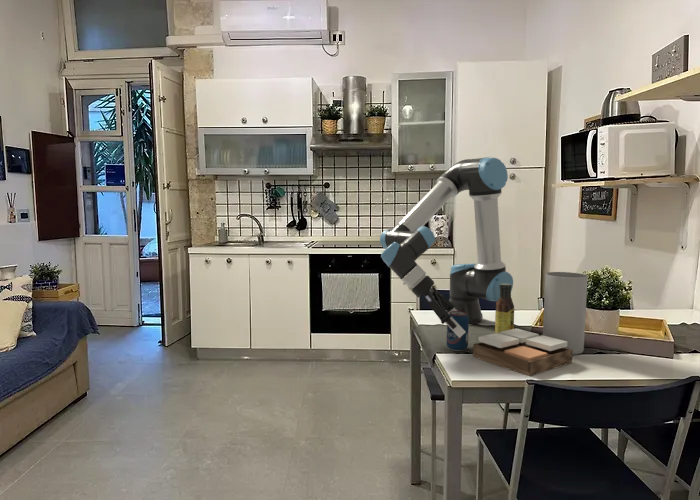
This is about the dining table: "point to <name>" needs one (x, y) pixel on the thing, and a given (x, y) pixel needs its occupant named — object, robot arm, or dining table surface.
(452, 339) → the soda can
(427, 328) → the dining table surface
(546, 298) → the cylinder vase
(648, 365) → the dining table surface
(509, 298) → the sauce bottle
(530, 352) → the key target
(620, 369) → the dining table surface
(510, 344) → the key
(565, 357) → the keypad
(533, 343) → the key
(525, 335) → the key
